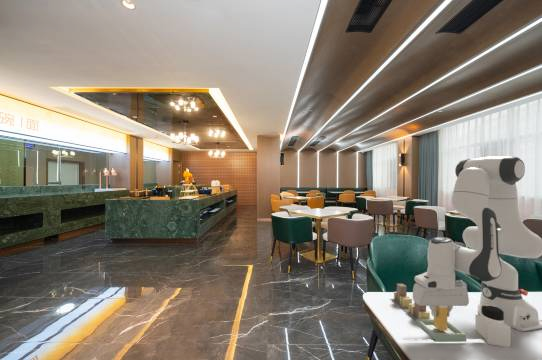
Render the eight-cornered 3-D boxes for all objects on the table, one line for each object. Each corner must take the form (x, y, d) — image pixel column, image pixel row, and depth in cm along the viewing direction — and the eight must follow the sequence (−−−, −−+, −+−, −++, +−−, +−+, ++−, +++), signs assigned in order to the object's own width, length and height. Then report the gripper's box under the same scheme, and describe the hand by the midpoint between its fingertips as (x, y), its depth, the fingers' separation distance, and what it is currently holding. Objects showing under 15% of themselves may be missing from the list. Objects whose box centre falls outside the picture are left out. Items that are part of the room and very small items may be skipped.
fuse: (441, 325, 92) (441, 300, 92) (447, 330, 89) (447, 304, 89) (433, 325, 92) (433, 300, 92) (439, 330, 89) (439, 304, 89)
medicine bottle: (511, 347, 83) (511, 313, 83) (487, 344, 84) (488, 311, 85) (496, 335, 90) (496, 303, 90) (474, 332, 91) (475, 301, 92)
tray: (444, 325, 96) (444, 318, 96) (466, 341, 86) (466, 334, 86) (416, 325, 95) (416, 318, 95) (434, 341, 85) (434, 334, 85)
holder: (389, 301, 115) (390, 282, 115) (405, 301, 115) (405, 282, 115) (415, 324, 96) (415, 301, 96) (434, 324, 96) (434, 301, 96)
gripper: (459, 277, 94) (459, 311, 94) (410, 276, 93) (409, 311, 93) (473, 283, 88) (473, 320, 88) (421, 283, 87) (420, 320, 87)
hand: (440, 316), depth 90 cm, fingers closed on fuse, 3 cm apart
